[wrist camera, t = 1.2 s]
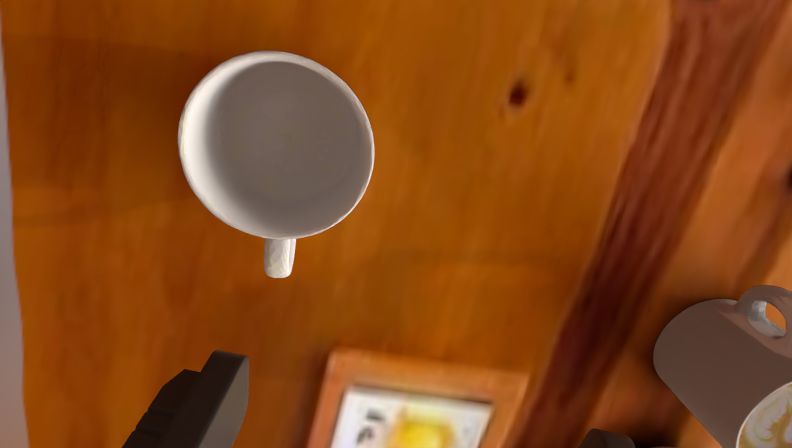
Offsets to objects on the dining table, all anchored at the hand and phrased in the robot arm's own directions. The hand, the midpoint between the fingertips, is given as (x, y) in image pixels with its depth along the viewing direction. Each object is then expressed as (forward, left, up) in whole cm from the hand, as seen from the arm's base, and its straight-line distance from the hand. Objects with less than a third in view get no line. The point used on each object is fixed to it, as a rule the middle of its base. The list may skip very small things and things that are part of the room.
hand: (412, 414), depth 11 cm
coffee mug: (+12, +31, -25) cm, 42 cm away
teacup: (0, -7, -25) cm, 26 cm away
